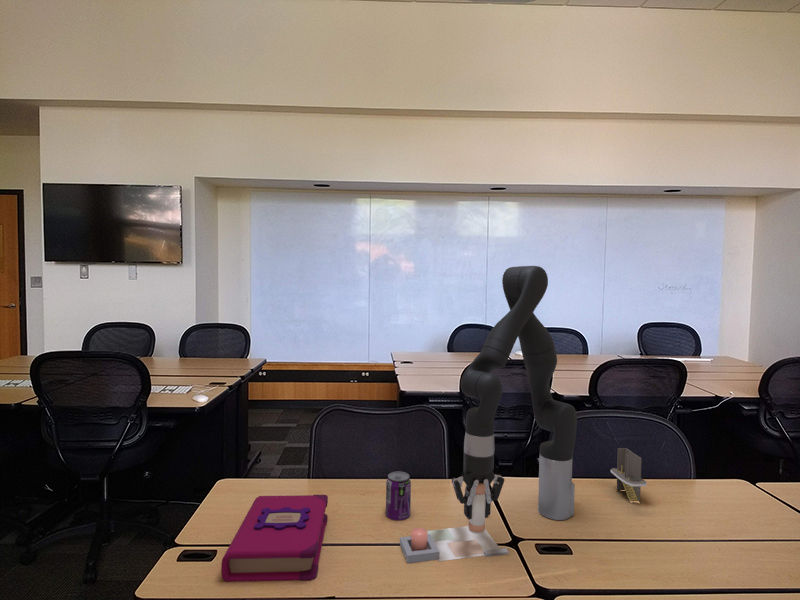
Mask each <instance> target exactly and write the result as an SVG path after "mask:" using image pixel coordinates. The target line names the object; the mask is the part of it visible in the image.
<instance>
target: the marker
mask: <svg viewBox="0 0 800 600" xmlns="http://www.w3.org/2000/svg"><path fill="white" fill-rule="evenodd" d="M469 490H470V489H469ZM485 493H486V492H485V486H484V484H483V483H478V486H477V487H476V492H475V496H474V497H473V499H472V503H471V505H472V519H470V520H468V526H469V531H470V532H472V533H474V534H482V533H484V531H485V530H486V518H485V503H486V494H485Z"/></svg>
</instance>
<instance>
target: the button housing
mask: <svg viewBox="0 0 800 600" xmlns="http://www.w3.org/2000/svg"><path fill="white" fill-rule="evenodd" d="M399 546H400V548H401V551H402V553H403V556H404V559H405V560H406V564H414V563H420V562H428V561H436V560H437V559H439V556H440V552H439V550H438V548H437V546H436V544H435V542H434V541H433V539H432V537H431V535H430V534H427V550H420V551H413V550H412V549H411V535H410V536H409V535H408V536H401V537H399ZM437 561H438V560H437Z"/></svg>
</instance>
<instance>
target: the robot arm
mask: <svg viewBox="0 0 800 600" xmlns="http://www.w3.org/2000/svg"><path fill="white" fill-rule="evenodd" d="M501 279H502V281H501V283H502V289H503V293H504V297H505V299H506V302H507V305H508V307H509V311H508V312H507V313H506V314H505V315H504V316H503V317H502V318H501V319H499V320H498V322H496V324H495V325H494V326H493V327H492V328H491V330H490V331H489V333H488V335H487V337H486V339H485V341H484V343H483V345H482V346H483V347H482V348H481V351H480V352H479V354H478V355H477V356H476V357H475V358H474V359H473V360H472V362H471V363H470V364H469V365H468V367H467V368H466V369H465V371H464V373H463V374H462V377H461V380H460V389H461V391H462V394H464V396H466V397H468V398H472V399H476V400H478V401H480V402H479V405H478V406H477V407H476V406H474V407H471V408H468V410H466V416H465V435H464V439H463V440H464V441H463V470H462V473H461V476H459V477H457V478H456V477H452V478H451V483H452V486H453V490H454V493H455V496H456V499H457V500H458V501H459V503H460V504H463V514H464V516H465V517H466V519H467V520H468V521H469V520H470V519H472V505H471V503H472V499H473V497H474V496H475V492H476V487H477V486H478V483H483V484H484V486H485V492H486V493H485V494H486V503H485V519H488V518H489V516H490V515H491V506H492V505H491V504H492V502H494V501H496V502H497V501H498V500H499V498H500V495H501V492H502V490H503V489H502V488H503V485H504V483H505V478H504V477H503V476H502V475H501V474H496V473H494V468H495V467H494V466H495V450H496V449H495V448H496V447H495V417H496V414H497V410H498V407H499V403H500V400H501V397H502V394H503V385H502V380H501V378H500V377H499V376H498V375H497V374H496V373H491V371H494V370H499V369H503V368H504V367H505V366H506V364H507V363H508V360H509V357H510V355H511V353H512V352H513V351H512V350H513V348H514V346H515V344H516V342H517V339H518V340H519V341H518V342H519V345H520V351H521V354H522V359H523V363H524V366H525V370H526V373H527V379H528V385H529V389H530V395H531V402H532V410H533V417H534V421H535V423H536V424H537V426H538V427H540V429H543V430H545V431H548V432H550V433H554V434H553V440H547V441H543V442H542V443H540V445H539V459H538V460H539V461H538V462H539V463H538V464H539V465H538V467H539V468H538V470H539V471H538V497H537V498H538V499H537V500H538V501H537V510H538V513H539V514H540V515H541V516H543V517H544V518H548V519H551V520H555V521H556V520H557V521H565V520H568V519H569V518H571V517H573V516H575V515H574V514H575V490H576V487H575V485H576V484H575V483H574V482H573V454H574V450H575V445H576V438H577V437H576V436H577V425H578V415H577V414H578V413H577V411H576V408H575V407H574V406H573V405H572V404H570V403H568V402H567V403H566V402H563V401H559V400H555V399H554V398H553V397H552V392H551V388H550V383H551V380H552V377H553V375H554V373H555V371H556V367H557V365H558V355H557V351H556V347H555V342H554V340H553V337H552V335H551V333H550V332H549V331H548V329H547V328H546V327H545V326H544V325H543V323H542V322H541V321H540V319H538V317H537V316H536V315H535V313H534V311H535V310H536V308H537V307H538V305H539V303H540V302H541V301H542V299H543V298H544V296H545V294H546V292H547V289H548V284H549V277H548V273H547V272H546V270H545V268H543V267H542V266H539V265H538V266H537V265H522V266H521V265H520V266H519V265H518V266H511V267H508V268H507V269H505V271H504V272H503V275H502V278H501ZM492 482H493V483H492ZM463 483H464V484H465V488H464V494H463V491H462V490H463V489H462V487H463ZM491 484H492V487H491V489H490V485H491ZM469 489H470V490H469Z"/></svg>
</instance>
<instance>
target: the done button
mask: <svg viewBox="0 0 800 600" xmlns="http://www.w3.org/2000/svg"><path fill="white" fill-rule="evenodd" d="M427 531H428V530H427V529H425V528H423V527H414V528H412V530H411V532H410V534H411V535H410V536H411V547H410V548H411V550H412V551H420V550H428V548H427V533H428V532H427Z"/></svg>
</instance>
